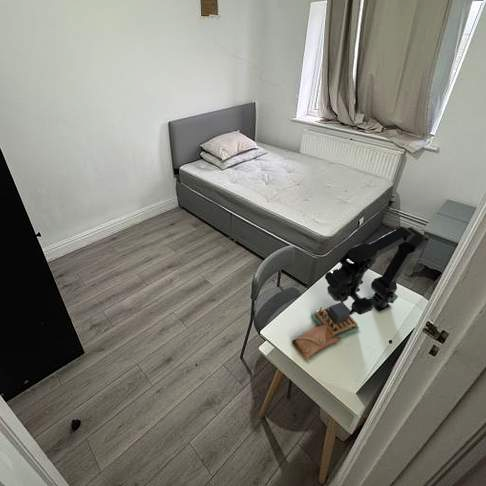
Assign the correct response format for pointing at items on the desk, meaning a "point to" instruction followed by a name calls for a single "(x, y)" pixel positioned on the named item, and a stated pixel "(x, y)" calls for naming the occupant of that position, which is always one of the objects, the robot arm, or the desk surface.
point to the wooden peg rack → (339, 329)
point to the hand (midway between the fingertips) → (342, 304)
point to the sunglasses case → (314, 341)
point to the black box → (338, 313)
